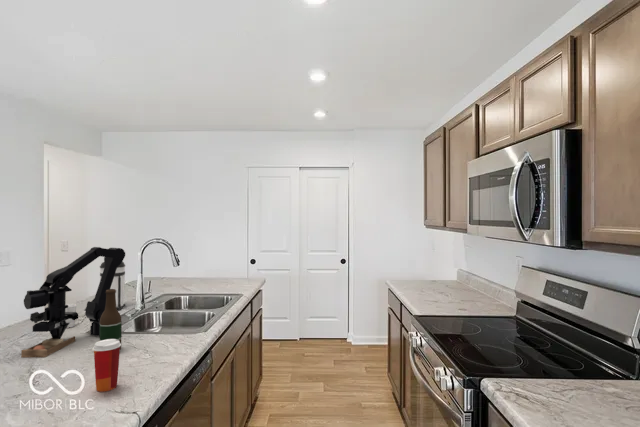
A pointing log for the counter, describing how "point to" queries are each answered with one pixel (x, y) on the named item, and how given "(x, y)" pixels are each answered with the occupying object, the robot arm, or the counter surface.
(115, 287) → the coffee press
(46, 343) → the tan wooden brick
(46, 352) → the brown wooden tray
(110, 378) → the paper cup
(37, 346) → the ball
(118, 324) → the beer bottle
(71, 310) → the white cup
